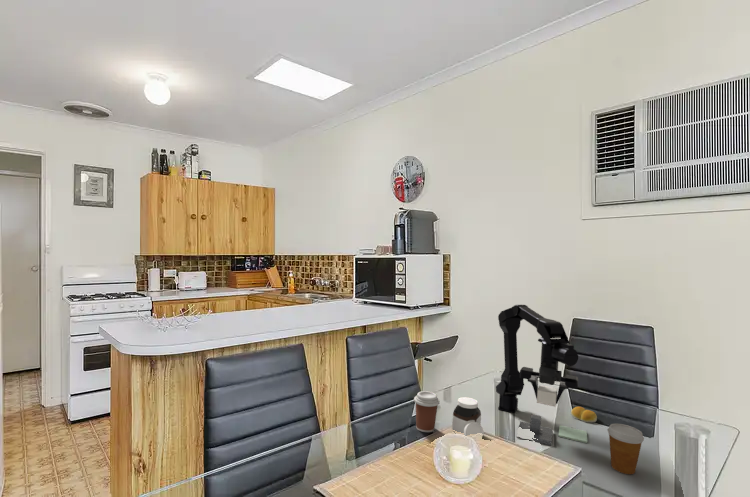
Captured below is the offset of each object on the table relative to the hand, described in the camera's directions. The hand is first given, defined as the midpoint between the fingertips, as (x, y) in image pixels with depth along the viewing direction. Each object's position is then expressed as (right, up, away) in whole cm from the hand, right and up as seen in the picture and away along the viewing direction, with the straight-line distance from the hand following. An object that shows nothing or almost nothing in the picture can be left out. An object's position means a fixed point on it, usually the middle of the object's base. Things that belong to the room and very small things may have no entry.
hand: (546, 401), depth 146 cm
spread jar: (-28, -11, -4) cm, 31 cm away
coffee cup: (-43, -10, +1) cm, 44 cm away
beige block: (0, 0, 0) cm, 0 cm away
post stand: (-4, -12, 0) cm, 13 cm away
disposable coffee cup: (+15, -14, -20) cm, 28 cm away
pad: (+10, -13, +2) cm, 16 cm away
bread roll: (+22, -13, +17) cm, 31 cm away
